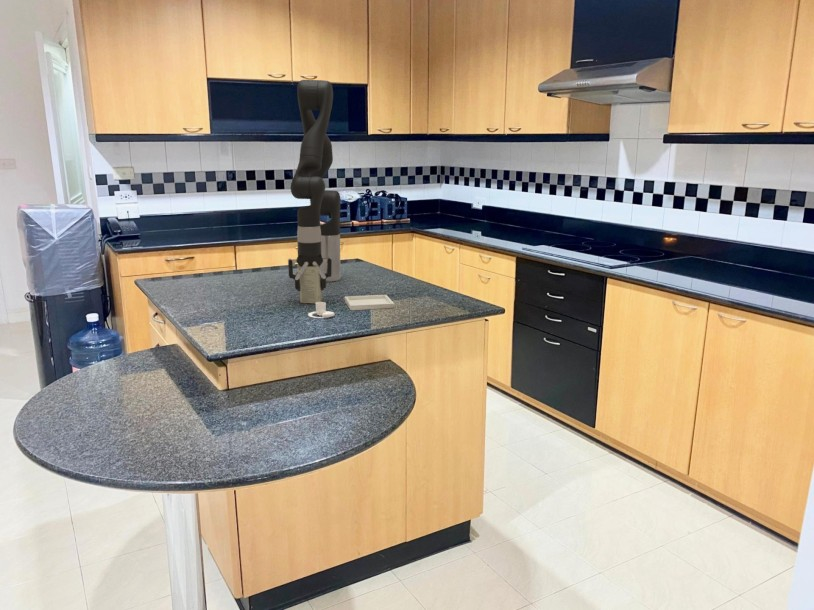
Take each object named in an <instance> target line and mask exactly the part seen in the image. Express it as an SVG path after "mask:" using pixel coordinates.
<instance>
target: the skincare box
mask: <svg viewBox="0 0 814 610" xmlns="http://www.w3.org/2000/svg"><path fill="white" fill-rule="evenodd" d="M298 269H299V270H300V269H301V267H300V266H299V265H298ZM320 269H321V268H320ZM299 280H300V291H299V301H300V303H301V304H302V303H303V304H316V302H323V296H322V294H323V293H322V291H323V290H321V275H320V274H319V272H318V266H307V267H306V268H305V270H304V272H303V273H302V275H301V276H300V278H299Z"/></svg>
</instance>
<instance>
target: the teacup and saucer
mask: <svg viewBox="0 0 814 610" xmlns="http://www.w3.org/2000/svg"><path fill="white" fill-rule="evenodd" d="M326 308H327V302H325V301H320V302H316V303H315V311H312V312H308V314H307V316H308V317H310V318H313V319H314V318H315V319H327V318H332V317H334V316H335V312H334V311H329V310H328V311H327V310H326ZM315 314H316V315H317V316H314V315H315ZM318 315H319V316H318Z"/></svg>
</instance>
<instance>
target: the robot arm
mask: <svg viewBox="0 0 814 610" xmlns="http://www.w3.org/2000/svg"><path fill="white" fill-rule="evenodd" d="M296 88H297V90H296V91H297V93H296V94H297V102H298V108H299V113H300V118H301V123H302V130H303V139H302V140H301V144H300V150H299V159H298V160H299V161H298V164H297V167H296V169H295V172H294V175H293V177H292V180H291V183H290V192H291V195H292V196H293V198H295V199H297V200H309V203H310V204H309V205H306V206H301V207H298V209H297V231H296V234H297V235H296V237H297V238H296V240H297V241H296V242H297V257H296V258H294V259H293V258H288V259H287V265H288V266H287V267H288V277H289V279H293V280H294V288H295V290H296V291H297V292H300V280H299V278H300V276H301V275H302V273H303V272H304V270H305V268H306V267H307V266H318V272H319V274H320V275H321V290H322V291H324V290H325V289H326V288H327V282H337V281H340V280H341V278H342V277H341V194H340V192H339V191H338V190H334V189H333V190H326V184H325V181H324V177H325V176H326V174H327V173H328V171H329V170H330V168H331V166H332V164H333V161H334V158H333V157H334V155H333V144H332V141H331V140H330V138H329V136H328V135H327V130H328V126H329V122H330V117H331V112H332V109H333V108H332V107H333V101H334V90H333V85H332V82H330V81H328V80H322V79H302V80H300V81H299V82H298V84H297V87H296ZM313 111H319V113H318V117H317V118H316V119H315V116H314V113H313ZM323 216H326V217H327V216H328V217H329V216H330V219H329V220H328V221H326V222H324V223H321V217H323ZM296 264H297V265H298V267H299V266H300V267H301V269H300V270H299V268H298V269H297V271H296V273H295V274H294V271H293V269H294V268H293V267H295V266H296ZM320 268H321V269H320Z"/></svg>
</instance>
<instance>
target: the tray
mask: <svg viewBox="0 0 814 610" xmlns="http://www.w3.org/2000/svg"><path fill="white" fill-rule="evenodd" d="M344 302H345V304H346V305H347V307H348V309H349V310H350V311H361V310H362V311H363V310H366V311H367V310H382V309H383V310H384V309H387V310H388V309H395V303H394V302H393V300H392V299H391V298H390V297H389V296H388V295H387V294H371V295H351V296H344Z"/></svg>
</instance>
